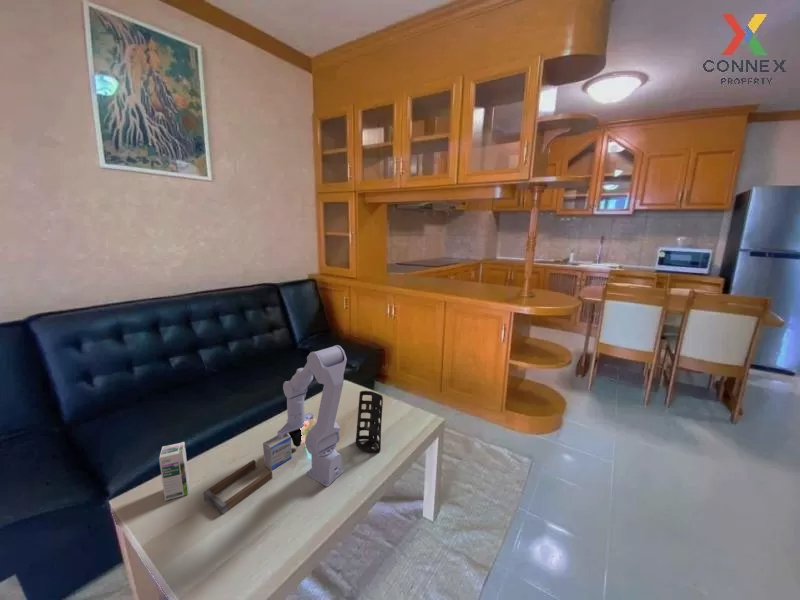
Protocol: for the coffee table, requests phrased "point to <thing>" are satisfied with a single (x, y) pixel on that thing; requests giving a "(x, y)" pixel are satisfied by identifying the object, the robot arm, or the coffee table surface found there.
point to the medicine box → (277, 451)
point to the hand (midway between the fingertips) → (297, 445)
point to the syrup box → (174, 470)
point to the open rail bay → (241, 495)
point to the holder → (373, 420)
